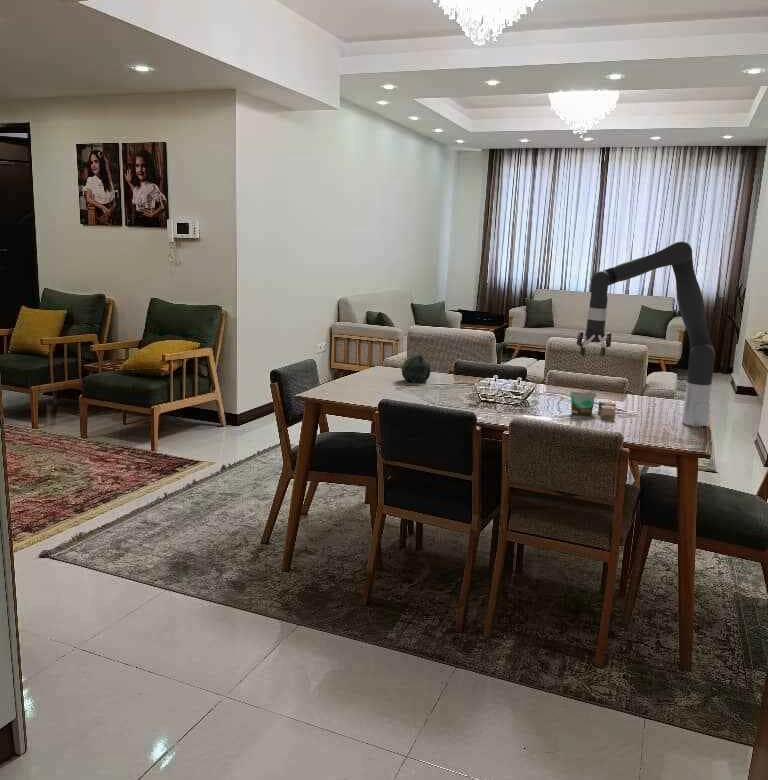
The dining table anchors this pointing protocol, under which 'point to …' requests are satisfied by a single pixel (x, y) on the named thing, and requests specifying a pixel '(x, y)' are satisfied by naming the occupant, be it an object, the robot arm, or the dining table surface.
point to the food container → (582, 402)
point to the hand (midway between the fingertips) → (592, 356)
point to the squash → (416, 369)
